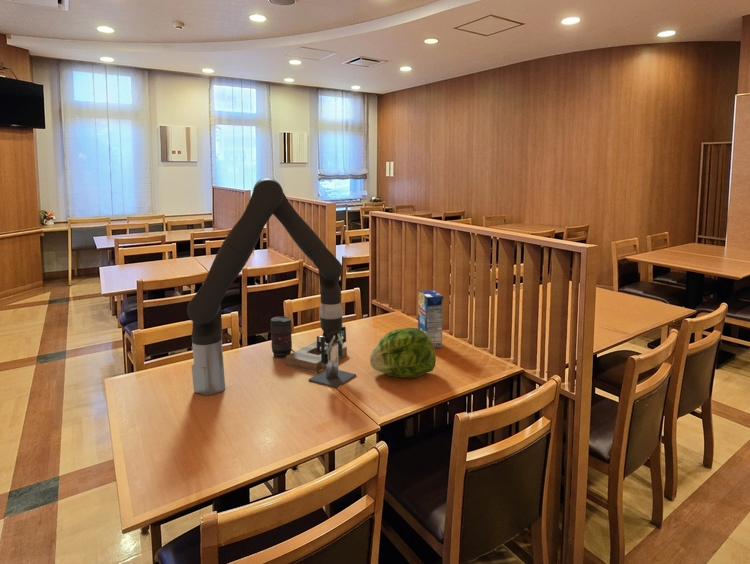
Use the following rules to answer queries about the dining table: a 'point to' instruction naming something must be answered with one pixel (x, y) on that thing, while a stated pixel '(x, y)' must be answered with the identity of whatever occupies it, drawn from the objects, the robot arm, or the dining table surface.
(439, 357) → the dining table surface
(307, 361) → the holder
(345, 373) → the mat
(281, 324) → the camera lens
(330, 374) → the canister
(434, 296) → the beverage box
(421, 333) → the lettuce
